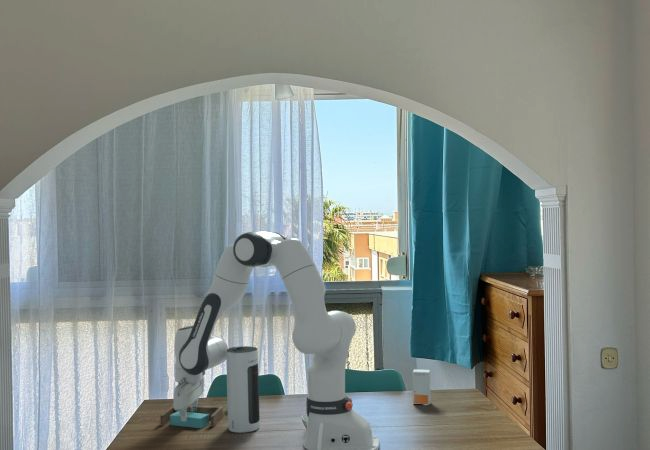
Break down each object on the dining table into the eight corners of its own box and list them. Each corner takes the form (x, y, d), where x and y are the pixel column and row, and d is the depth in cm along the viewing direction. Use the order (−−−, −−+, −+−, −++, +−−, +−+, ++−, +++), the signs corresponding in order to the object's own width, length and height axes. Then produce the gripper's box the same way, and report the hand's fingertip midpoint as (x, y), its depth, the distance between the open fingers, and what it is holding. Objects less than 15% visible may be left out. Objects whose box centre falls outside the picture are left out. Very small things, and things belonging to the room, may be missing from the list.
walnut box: (223, 416, 221) (222, 406, 221) (213, 427, 211) (213, 416, 210) (172, 416, 224) (172, 405, 224) (160, 426, 213) (160, 415, 213)
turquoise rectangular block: (209, 424, 214) (209, 414, 214) (201, 429, 210) (200, 418, 210) (178, 421, 219) (178, 411, 219) (169, 425, 214) (169, 415, 214)
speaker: (242, 435, 201) (240, 352, 201) (220, 429, 208) (218, 348, 208) (266, 427, 209) (264, 346, 209) (244, 421, 216) (243, 343, 216)
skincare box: (412, 404, 231) (411, 371, 231) (414, 401, 236) (413, 368, 236) (429, 406, 230) (428, 372, 230) (431, 402, 234) (430, 369, 234)
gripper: (187, 382, 203) (188, 426, 203) (206, 368, 224) (207, 407, 224) (168, 382, 204) (168, 426, 204) (189, 367, 224) (189, 407, 225)
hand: (189, 416), depth 214 cm, fingers open, 8 cm apart
